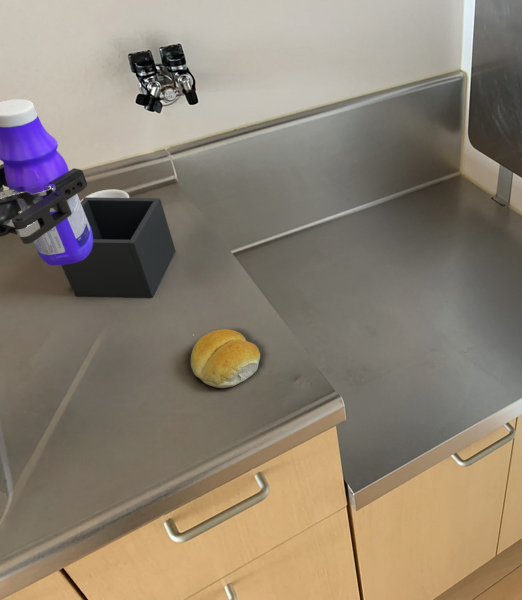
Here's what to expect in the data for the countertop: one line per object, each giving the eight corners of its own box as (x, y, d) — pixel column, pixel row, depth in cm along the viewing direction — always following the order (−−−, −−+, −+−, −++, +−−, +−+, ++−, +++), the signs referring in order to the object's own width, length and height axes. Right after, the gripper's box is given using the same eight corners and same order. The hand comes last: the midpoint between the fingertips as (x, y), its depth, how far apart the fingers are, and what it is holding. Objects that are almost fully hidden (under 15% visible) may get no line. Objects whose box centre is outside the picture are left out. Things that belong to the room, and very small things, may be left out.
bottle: (46, 237, 73) (-17, 95, 61) (97, 230, 74) (45, 89, 63) (39, 274, 68) (-31, 126, 56) (94, 265, 69) (36, 118, 58)
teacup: (91, 246, 100) (80, 218, 97) (87, 222, 106) (76, 195, 102) (154, 231, 104) (145, 204, 100) (147, 208, 109) (138, 182, 105)
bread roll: (231, 332, 85) (226, 311, 83) (271, 365, 81) (267, 344, 78) (179, 363, 81) (172, 342, 78) (217, 400, 76) (211, 379, 74)
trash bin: (75, 296, 91) (50, 241, 84) (105, 250, 100) (84, 197, 93) (152, 297, 91) (133, 243, 84) (175, 251, 100) (160, 198, 93)
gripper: (-53, 237, 50) (96, 150, 62) (-167, 198, 54) (-7, 124, 66) (-14, 305, 55) (118, 213, 67) (-121, 265, 59) (20, 185, 71)
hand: (55, 169), depth 66 cm, fingers closed on bottle, 7 cm apart
